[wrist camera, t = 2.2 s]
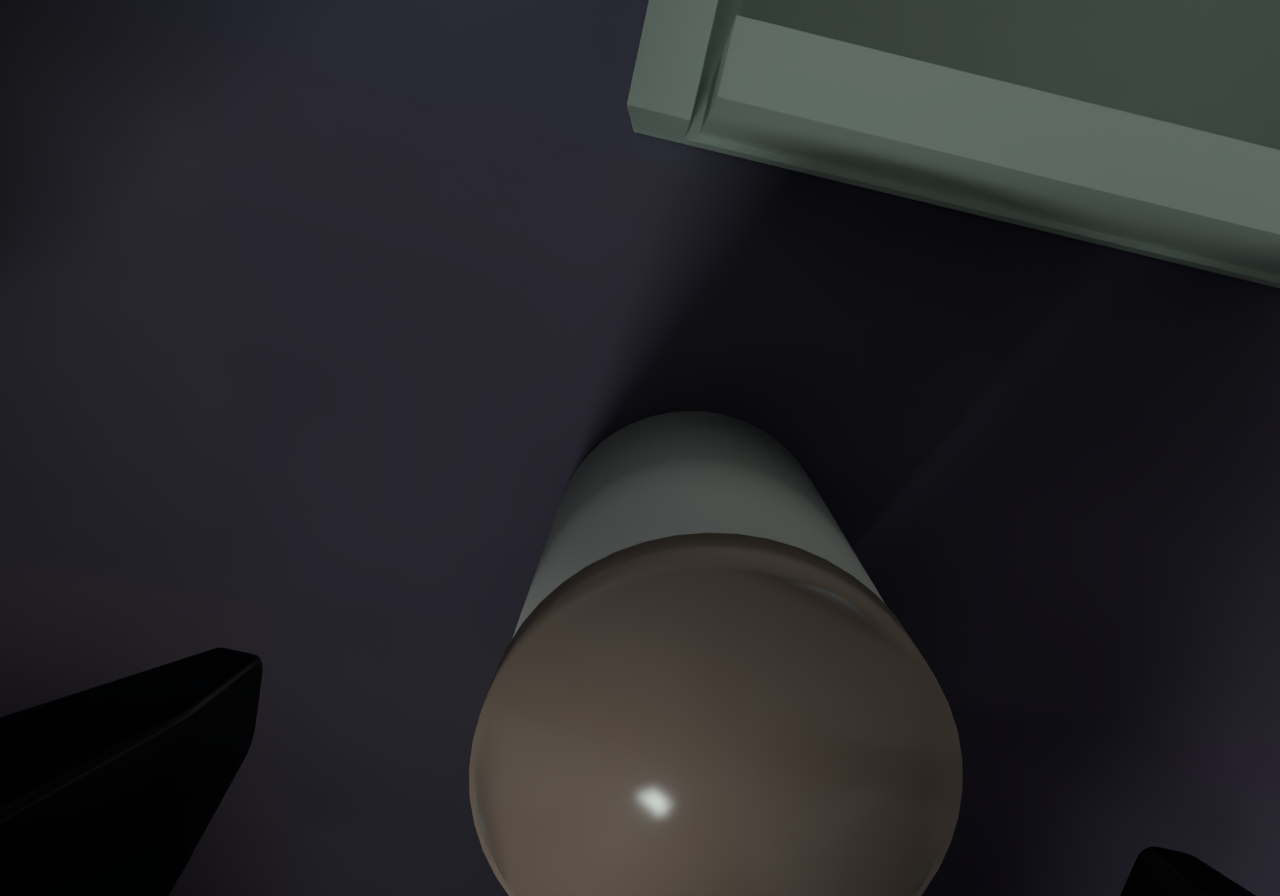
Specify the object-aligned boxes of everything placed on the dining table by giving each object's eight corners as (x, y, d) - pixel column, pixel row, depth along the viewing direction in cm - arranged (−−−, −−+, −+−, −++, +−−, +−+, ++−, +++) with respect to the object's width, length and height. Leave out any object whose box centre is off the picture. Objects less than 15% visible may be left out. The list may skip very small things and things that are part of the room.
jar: (786, 692, 16) (878, 1032, 9) (527, 636, 16) (431, 940, 9) (861, 443, 15) (1032, 625, 8) (583, 379, 15) (519, 511, 8)
